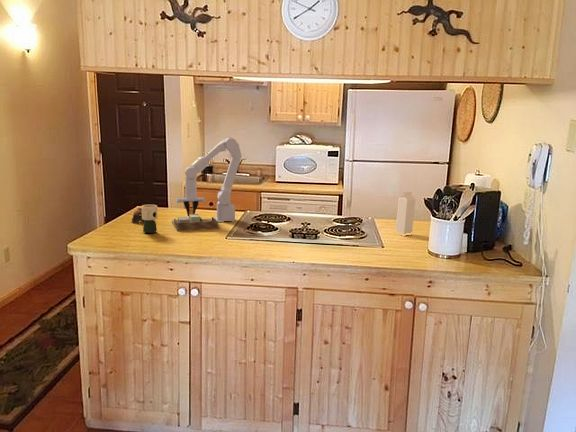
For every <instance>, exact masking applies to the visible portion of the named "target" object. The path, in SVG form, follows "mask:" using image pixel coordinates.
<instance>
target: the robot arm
mask: <svg viewBox="0 0 576 432" xmlns="http://www.w3.org/2000/svg"><path fill="white" fill-rule="evenodd" d="M226 151H228V152H229V155H230V157H231V158H230V162H229V164H228V168H227V170H226V174H225V177H224V181H223V183H222V185H221V188H220V190H219V191H218V192H217V195H216V198H217V200H218V201H217V202H216V217H214V219H215V220H216V221H218V223H223V222H224V221H232V222H236V206H235V204H234V203H231V200H232V199H231V196H232V195H231V194H232V190H233V189H232V187H233V185H234V182H235V179H236V175H237V172H238V169H239V167H240V163H241V160H242V152H241V149H240V144H239V143H238V141H237V140H236V139H234V137H232V136H227V137H225V138H223V140H220V142H218V143H217V144H216V145H215V146H214V147H213V148H212V149H211V150H210V151H209V152H208V153H207V154H205V155H204V156H199V157H197V158H196V160H195V161H194V162H193V163H190V164H189V166H187V167H186V168H185V171H184V175H185V187H184V189H185V193H184V194H185V195H184V196H185V197H179V198H178V197H177V198H176V203H177V204H178V203H182V204H183V205H184V207H185V210H186V214H187V216H188V217H189V209H190V205H192V208H193V214H196V211H197V208H198V206H199V203H202V202H203V203H205V202H206V198H205V197H197V193H198V192H197V176H198V174H199V173H201V172H202V171H203V170H205V169H206V168H207V167H208V166H209V162H210V161H211V160H212V159H213V158H215V157H216V156H217V155H218V154H220V153H221V152H226ZM190 203H192V204H190ZM224 223H225V222H224Z"/></svg>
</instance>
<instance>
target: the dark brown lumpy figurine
mask: <svg viewBox="0 0 576 432" xmlns="http://www.w3.org/2000/svg"><path fill="white" fill-rule="evenodd" d="M144 221H145V220H143V219H142V207H138V208H137V210H135V211H134V212H133V215H132V218H131V223H134V224H138V225H139V224H140V223H144Z"/></svg>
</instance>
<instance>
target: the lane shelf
mask: <svg viewBox="0 0 576 432" xmlns="http://www.w3.org/2000/svg"><path fill="white" fill-rule="evenodd" d="M187 218H188V219H189V217H187ZM171 223H172V225H173V227H174V228H175V230H176V231H177V232H188V231H203V230H204V231H205V230H207V231H208V229H209V230H219V229H220V228H219V222H218V221H216V220H215V217H214V216H213V217H211V218H202V217H200V222H191V221H190V220H189V222H181V223H178V219H176V218H174V219H173V220H171Z"/></svg>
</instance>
